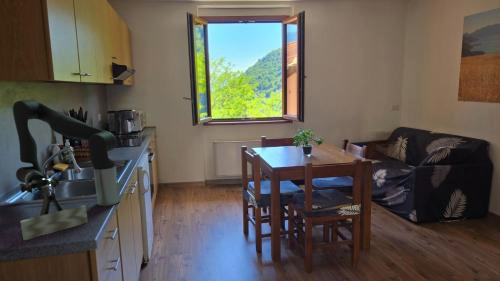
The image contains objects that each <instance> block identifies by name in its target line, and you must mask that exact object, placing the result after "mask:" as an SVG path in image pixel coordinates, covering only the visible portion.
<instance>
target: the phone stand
mask: <svg viewBox="0 0 500 281" xmlns="http://www.w3.org/2000/svg"><path fill="white" fill-rule="evenodd" d="M48 190H49V191H48ZM48 190H47V189H45V190H44V191H43V196H44V197H43V202H42V207H41V208H40V213H39V216H42V215H46V214H50V212H49V211H50V206H51V203H52V204H53V206H54V208H55V210H56V212H58V211H62V210H63V208H62V207H61V205H60V203H59V202H58V200H57V198H56V194H55V192H54V191H53V190H52V189H50V188H48Z"/></svg>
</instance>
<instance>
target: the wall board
mask: <svg viewBox="0 0 500 281" xmlns="http://www.w3.org/2000/svg"><path fill="white" fill-rule="evenodd" d="M87 212H88V211H87V207H86V205H85V204H84V205H83V204H82V205H78V206H75V207H71V208H67V209H62V211H58V212H57V211H55V212H49V213H48V214H46V215H42V216H40V215H38V216H34V217H30V218H26V219H22V220H20V221H19V222H20V228H21V235H22V239H23V241H28V240H31V239H34V238H38V237H41V235H42V236H45V234H46V235H49V234H52V233H55V232H59V231H63V230H66V229H69V228H70V229H71V228H73V227H77V226H80V225H86V224H88V222H89V220H88V213H87Z"/></svg>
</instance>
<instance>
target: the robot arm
mask: <svg viewBox="0 0 500 281" xmlns="http://www.w3.org/2000/svg"><path fill="white" fill-rule="evenodd" d="M12 106H13V107H12V115H13V119H14V124H15V128H16V131H17V137H18V144H19V159H20V162H21V163H23V164H31V165H30V166H21V167H19V168H18V169H17V170H16V172H15V176H16V179H17V181H18V182H20V183H19V188H20V192H21V193H25V192H27V193H30V194H32V193H33V192H34V191H41V190H43V189H44V188H51V187H52V188H53V189H55V188H56V187H57V186H59V185H60V181H59V180H60V179H59V178H58V177H55V176H53V177H52V178H47V177H46V176H45V175H44V174H43V171H42V169H41V167H40V164H39V160H38V147H37V146H38V145H37V142H36V140H35V139H34V137H33V135H32V133H31V132H30V130H29V120H39V121H42V122H44V123H47V124H48V126H49V127H50V128H51V130H52V131H53V132H55V133H57V134H59V135H61V136H64V137H65V138H71V139H75V140H83V141H87V148H88V152H89V154H88V155H89V158H90V162H91V164H92V166H93V175H94V176H93V177H94V184H95V192H96V201H97V205H98V206H100V207H108V206H113V205H116V204H117V203H121V193H120V184H119V181H118V180H117V170H116V162H115V159H113V158H110V157H109V154H108V152H110V151H112V150H114V149H115V148H116V147H117V145H118V140H117V137H116V135H114V134H113V133H112V132H110V131H107V130H104V129H101V128H98V127H94V126H92V125H89V123H88V124H87V123H85V122H83V121H81V120H78V119H76V118H75V117H72V116H70V115H67V114H65V113H62V112H61V111H60V112H59V111H58V110H55V109H53V108H51V107H48V106H47V105H45V104H44V103H42V102H40V101H38V100H34V99H25V100H24V99H23V100H17V101H15V102H14V104H13V105H12Z"/></svg>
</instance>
